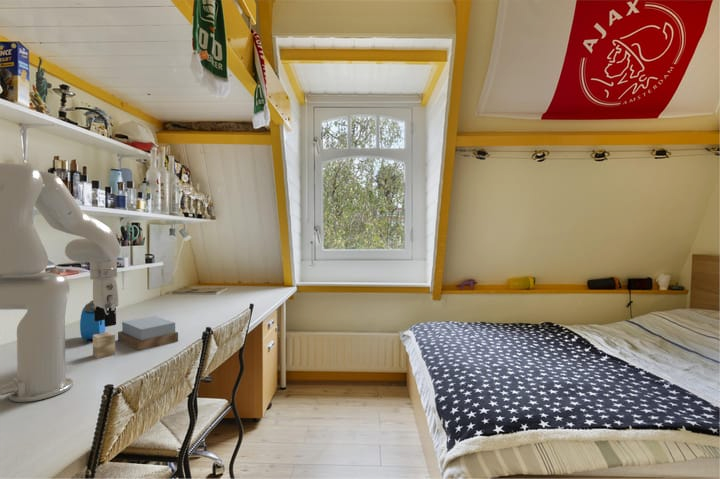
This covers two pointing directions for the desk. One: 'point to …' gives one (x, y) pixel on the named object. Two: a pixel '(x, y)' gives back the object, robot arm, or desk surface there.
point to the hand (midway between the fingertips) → (105, 323)
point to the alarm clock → (90, 323)
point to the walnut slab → (146, 343)
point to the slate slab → (148, 327)
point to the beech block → (103, 345)
